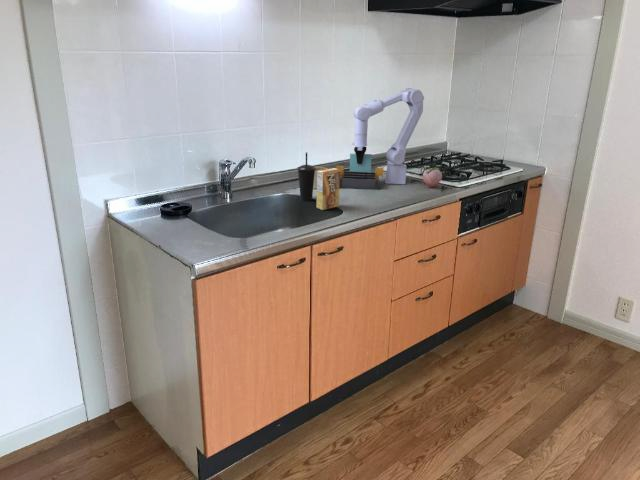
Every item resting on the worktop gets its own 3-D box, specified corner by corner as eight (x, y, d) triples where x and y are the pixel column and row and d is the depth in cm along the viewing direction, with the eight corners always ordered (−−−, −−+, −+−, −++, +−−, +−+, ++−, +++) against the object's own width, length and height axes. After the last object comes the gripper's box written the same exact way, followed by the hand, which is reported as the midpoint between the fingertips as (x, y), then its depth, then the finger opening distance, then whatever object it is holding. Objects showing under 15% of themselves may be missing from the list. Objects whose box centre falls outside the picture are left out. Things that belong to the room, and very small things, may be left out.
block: (370, 171, 245) (371, 154, 242) (370, 172, 243) (371, 155, 240) (349, 170, 246) (350, 153, 243) (349, 171, 244) (350, 154, 241)
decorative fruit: (428, 183, 248) (430, 163, 245) (443, 187, 243) (445, 166, 239) (417, 187, 242) (419, 166, 238) (432, 190, 237) (434, 169, 233)
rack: (382, 181, 251) (383, 164, 248) (382, 189, 236) (383, 171, 233) (336, 180, 253) (337, 162, 250) (334, 188, 238) (334, 169, 235)
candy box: (332, 204, 214) (333, 167, 209) (339, 206, 211) (340, 169, 206) (316, 208, 209) (316, 170, 203) (322, 210, 206) (323, 172, 200)
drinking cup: (305, 196, 225) (305, 150, 218) (318, 199, 221) (319, 152, 214) (293, 199, 219) (293, 152, 212) (307, 203, 215) (307, 155, 208)
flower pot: (321, 191, 232) (321, 172, 229) (303, 188, 237) (303, 169, 234) (332, 187, 240) (332, 168, 237) (315, 184, 244) (315, 166, 241)
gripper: (353, 131, 245) (351, 159, 250) (351, 136, 232) (350, 166, 237) (368, 131, 245) (366, 160, 249) (367, 136, 231) (365, 166, 236)
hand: (359, 163), depth 243 cm, fingers closed on block, 2 cm apart
